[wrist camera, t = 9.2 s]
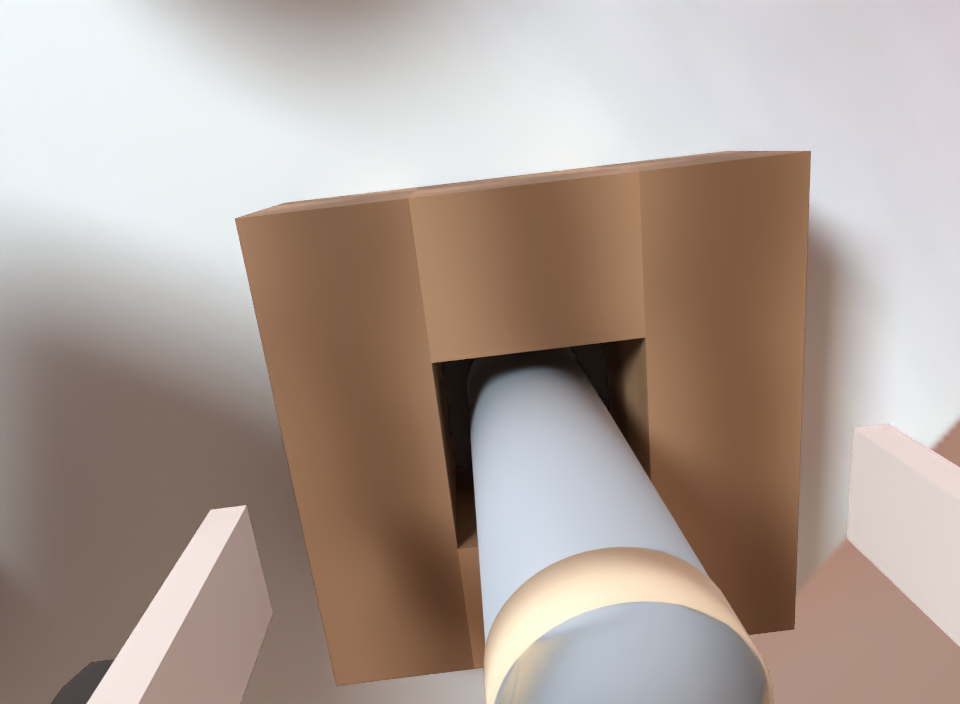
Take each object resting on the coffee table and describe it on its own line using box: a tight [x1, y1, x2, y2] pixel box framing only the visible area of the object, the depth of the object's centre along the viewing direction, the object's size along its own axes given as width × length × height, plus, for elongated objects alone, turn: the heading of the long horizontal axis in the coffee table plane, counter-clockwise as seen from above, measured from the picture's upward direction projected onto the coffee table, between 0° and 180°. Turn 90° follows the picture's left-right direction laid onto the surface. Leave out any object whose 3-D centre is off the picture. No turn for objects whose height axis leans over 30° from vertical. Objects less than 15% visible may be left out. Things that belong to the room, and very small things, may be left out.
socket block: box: [235, 151, 811, 686], centre depth 20 cm, size 14×14×5 cm
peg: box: [467, 347, 773, 704], centre depth 16 cm, size 4×4×14 cm
